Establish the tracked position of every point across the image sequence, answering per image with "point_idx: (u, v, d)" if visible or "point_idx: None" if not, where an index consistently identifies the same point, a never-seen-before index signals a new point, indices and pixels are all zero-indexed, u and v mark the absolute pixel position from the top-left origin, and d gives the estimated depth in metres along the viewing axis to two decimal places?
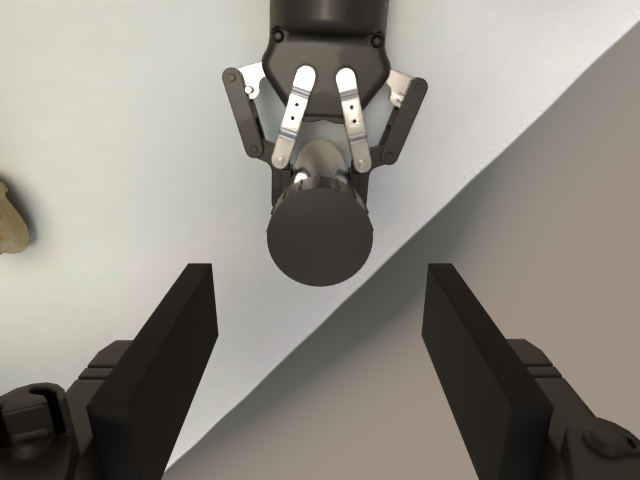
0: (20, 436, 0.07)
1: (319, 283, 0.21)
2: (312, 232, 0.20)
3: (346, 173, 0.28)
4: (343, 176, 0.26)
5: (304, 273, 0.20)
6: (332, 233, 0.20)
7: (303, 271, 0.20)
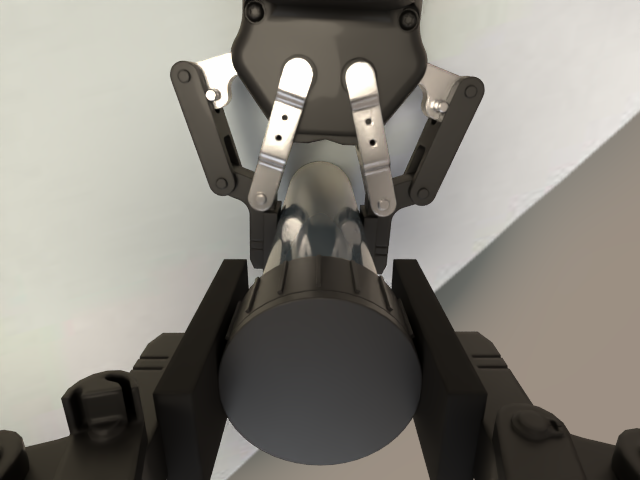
0: (96, 420, 0.07)
1: (319, 460, 0.11)
2: (305, 377, 0.10)
3: (360, 221, 0.19)
4: (357, 234, 0.16)
5: (290, 445, 0.11)
6: (344, 379, 0.10)
7: (289, 441, 0.11)
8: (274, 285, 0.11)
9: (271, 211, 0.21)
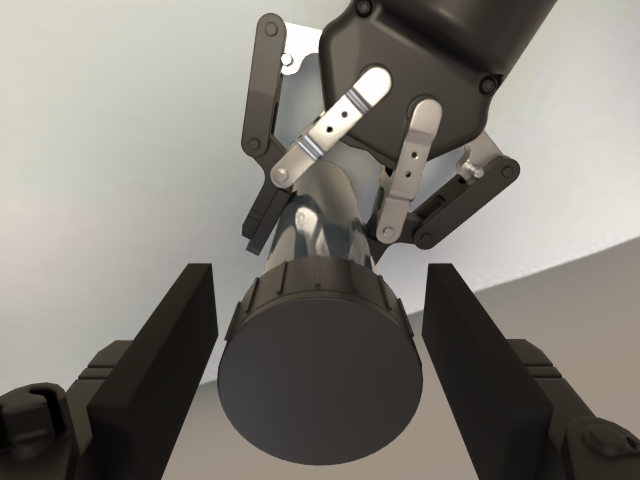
0: (20, 436, 0.07)
1: (380, 443, 0.11)
2: (300, 388, 0.10)
3: None
4: (370, 251, 0.16)
5: (345, 446, 0.11)
6: (329, 368, 0.10)
7: (341, 444, 0.11)
8: None
9: (285, 191, 0.20)
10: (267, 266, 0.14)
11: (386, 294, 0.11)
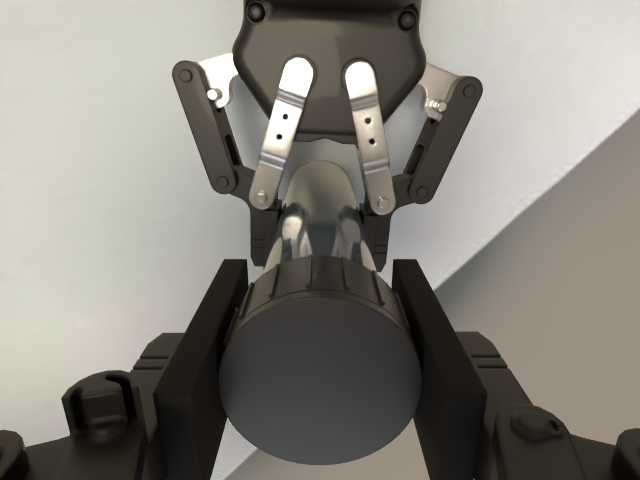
0: (97, 419, 0.07)
1: (406, 416, 0.11)
2: (302, 395, 0.10)
3: (359, 219, 0.19)
4: (357, 232, 0.16)
5: (374, 431, 0.11)
6: (317, 366, 0.10)
7: (370, 431, 0.11)
8: None
9: (272, 209, 0.21)
10: None
11: (345, 274, 0.10)
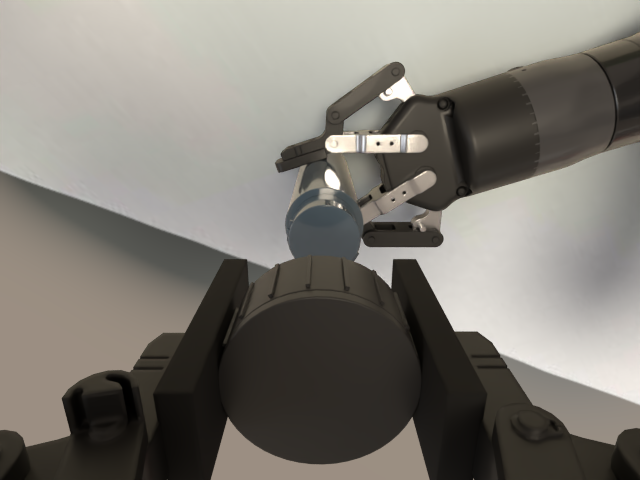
0: (97, 419, 0.07)
1: (405, 415, 0.11)
2: (301, 394, 0.10)
3: None
4: None
5: (374, 431, 0.11)
6: (317, 365, 0.10)
7: (369, 431, 0.11)
8: None
9: (326, 153, 0.30)
10: (315, 181, 0.24)
11: (345, 274, 0.11)
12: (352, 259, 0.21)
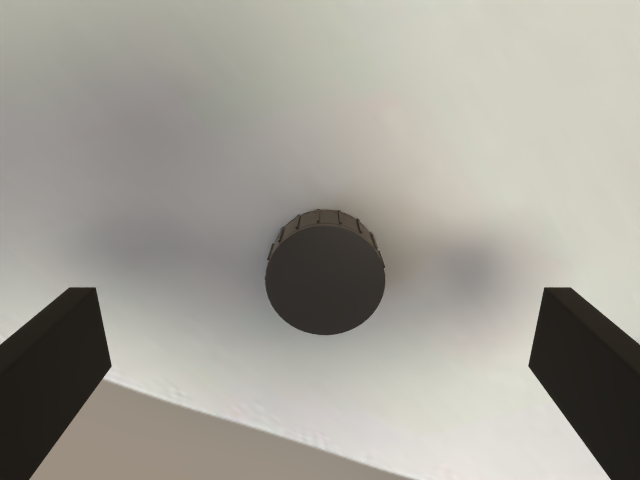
0: None
1: (376, 301, 0.18)
2: (314, 287, 0.18)
3: None
4: None
5: (357, 311, 0.18)
6: (323, 268, 0.17)
7: (354, 311, 0.18)
8: None
9: None
10: None
11: (340, 217, 0.18)
12: None
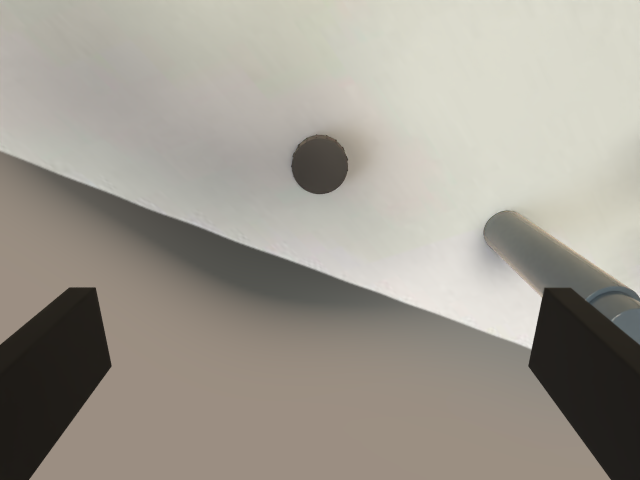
0: None
1: (343, 176, 0.38)
2: (314, 169, 0.38)
3: None
4: None
5: (335, 181, 0.38)
6: (319, 159, 0.38)
7: (333, 181, 0.38)
8: None
9: None
10: (591, 274, 0.28)
11: (326, 136, 0.38)
12: None
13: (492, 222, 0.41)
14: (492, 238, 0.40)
